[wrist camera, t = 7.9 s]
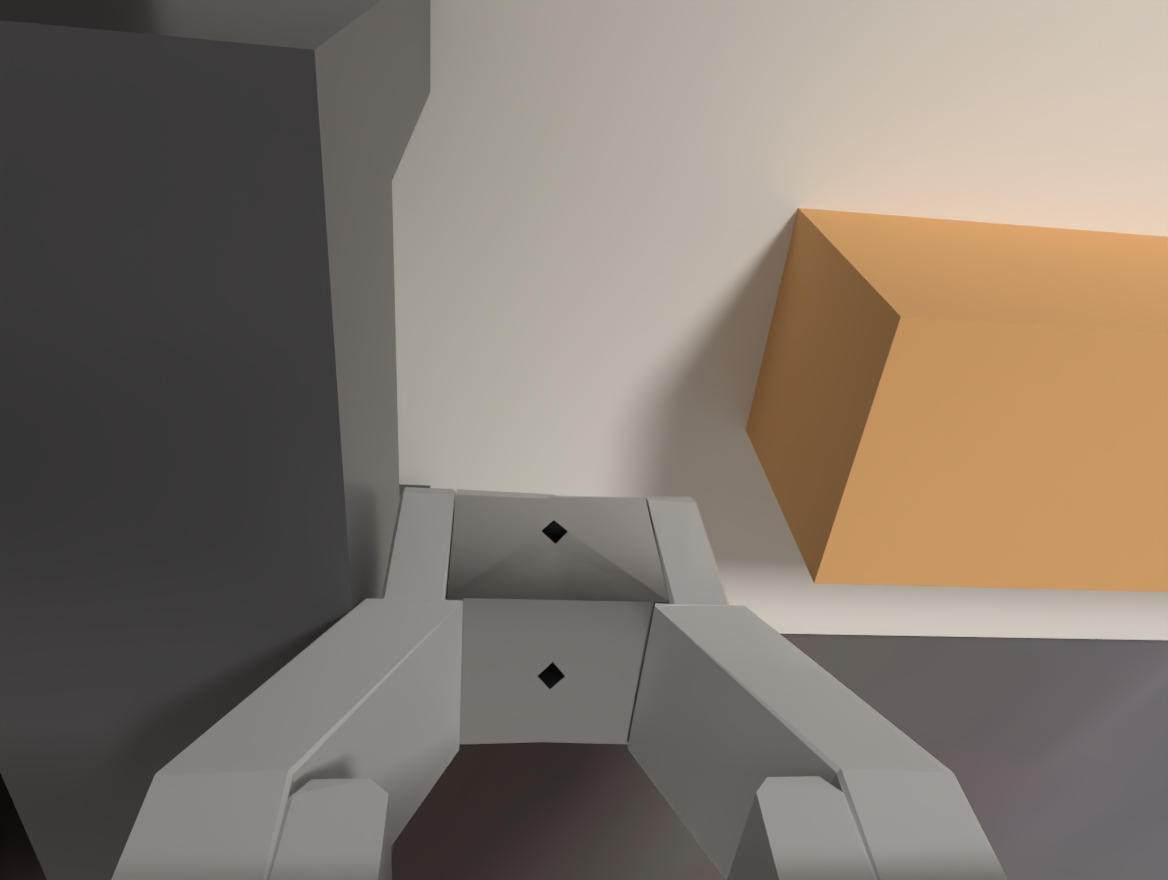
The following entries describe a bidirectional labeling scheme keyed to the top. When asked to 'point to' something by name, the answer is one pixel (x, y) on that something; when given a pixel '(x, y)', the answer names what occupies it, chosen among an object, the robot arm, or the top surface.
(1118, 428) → the orange foam brick
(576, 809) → the top surface
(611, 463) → the base plate
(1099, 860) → the top surface
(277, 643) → the dark grey block
